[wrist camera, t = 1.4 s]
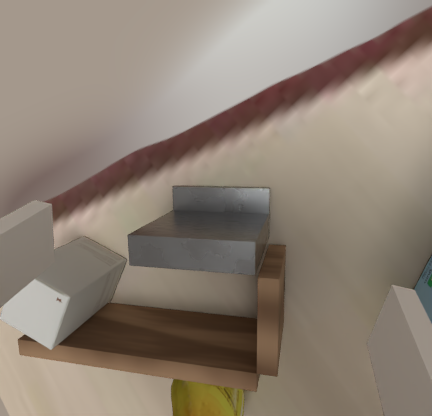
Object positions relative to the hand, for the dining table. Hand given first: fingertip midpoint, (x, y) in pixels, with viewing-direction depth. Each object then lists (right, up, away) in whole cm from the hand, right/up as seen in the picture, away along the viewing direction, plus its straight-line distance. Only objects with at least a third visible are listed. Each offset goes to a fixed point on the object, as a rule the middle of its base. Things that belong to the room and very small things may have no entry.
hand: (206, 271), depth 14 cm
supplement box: (-16, -6, +37) cm, 41 cm away
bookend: (+1, +2, +31) cm, 31 cm away
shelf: (-6, -7, +34) cm, 35 cm away
